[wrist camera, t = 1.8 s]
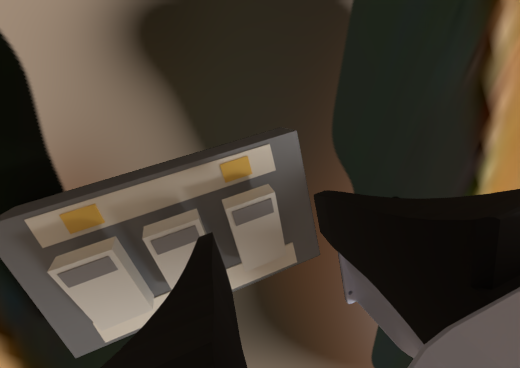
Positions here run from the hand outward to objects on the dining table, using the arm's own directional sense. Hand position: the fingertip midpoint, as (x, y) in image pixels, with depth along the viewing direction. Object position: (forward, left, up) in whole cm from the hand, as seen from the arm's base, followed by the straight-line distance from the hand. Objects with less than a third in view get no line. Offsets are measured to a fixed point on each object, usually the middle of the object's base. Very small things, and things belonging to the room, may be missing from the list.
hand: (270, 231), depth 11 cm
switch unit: (-2, +4, -8) cm, 10 cm away
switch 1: (-2, +9, -4) cm, 10 cm away
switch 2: (-2, +4, -4) cm, 7 cm away
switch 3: (-2, 0, -4) cm, 5 cm away
